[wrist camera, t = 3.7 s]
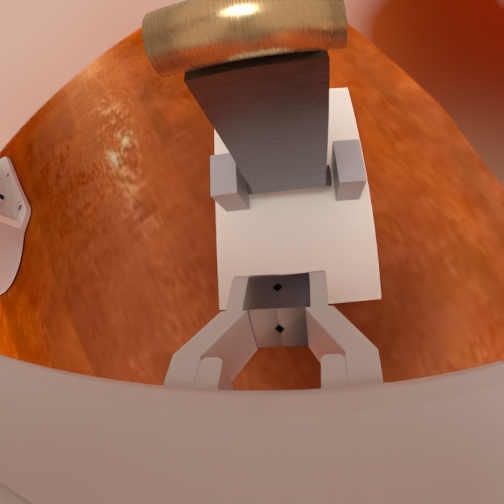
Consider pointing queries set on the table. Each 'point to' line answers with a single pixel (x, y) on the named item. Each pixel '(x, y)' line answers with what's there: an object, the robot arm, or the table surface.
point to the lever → (257, 79)
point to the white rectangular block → (301, 219)
